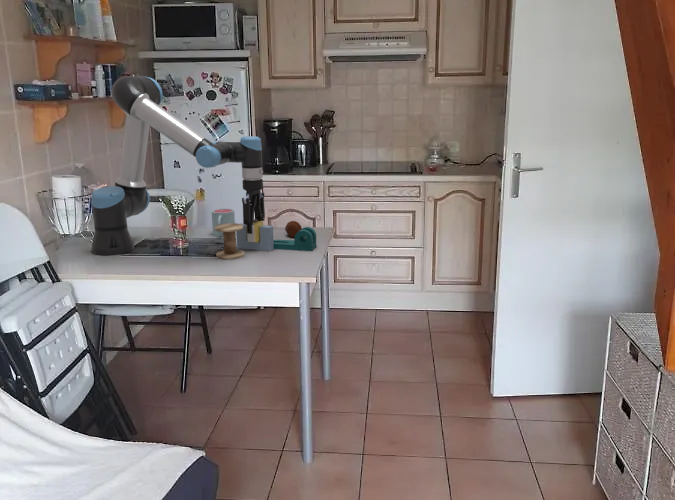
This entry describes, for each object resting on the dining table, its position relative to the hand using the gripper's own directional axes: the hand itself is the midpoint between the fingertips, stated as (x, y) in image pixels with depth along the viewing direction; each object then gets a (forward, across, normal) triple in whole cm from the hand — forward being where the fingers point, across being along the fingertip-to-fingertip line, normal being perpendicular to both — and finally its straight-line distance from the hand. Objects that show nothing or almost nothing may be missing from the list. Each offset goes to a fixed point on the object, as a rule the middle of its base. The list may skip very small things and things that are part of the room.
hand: (255, 239), depth 238 cm
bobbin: (+4, -12, +4) cm, 13 cm away
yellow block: (0, 0, 0) cm, 0 cm away
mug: (+4, +15, +23) cm, 28 cm away
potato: (+4, +24, -5) cm, 25 cm away
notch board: (+4, 0, 0) cm, 4 cm away
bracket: (+4, +6, -12) cm, 14 cm away
